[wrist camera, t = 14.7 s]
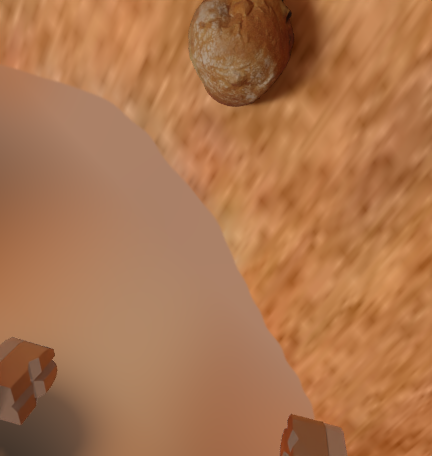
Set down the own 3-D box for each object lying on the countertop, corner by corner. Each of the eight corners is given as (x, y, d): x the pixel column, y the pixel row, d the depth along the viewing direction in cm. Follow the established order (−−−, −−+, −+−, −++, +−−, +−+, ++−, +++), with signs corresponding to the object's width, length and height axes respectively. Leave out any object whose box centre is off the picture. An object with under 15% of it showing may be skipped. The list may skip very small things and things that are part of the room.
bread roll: (197, 31, 34) (151, 46, 29) (265, -54, 26) (218, -53, 21) (247, 107, 36) (212, 133, 31) (322, 49, 29) (292, 71, 24)
